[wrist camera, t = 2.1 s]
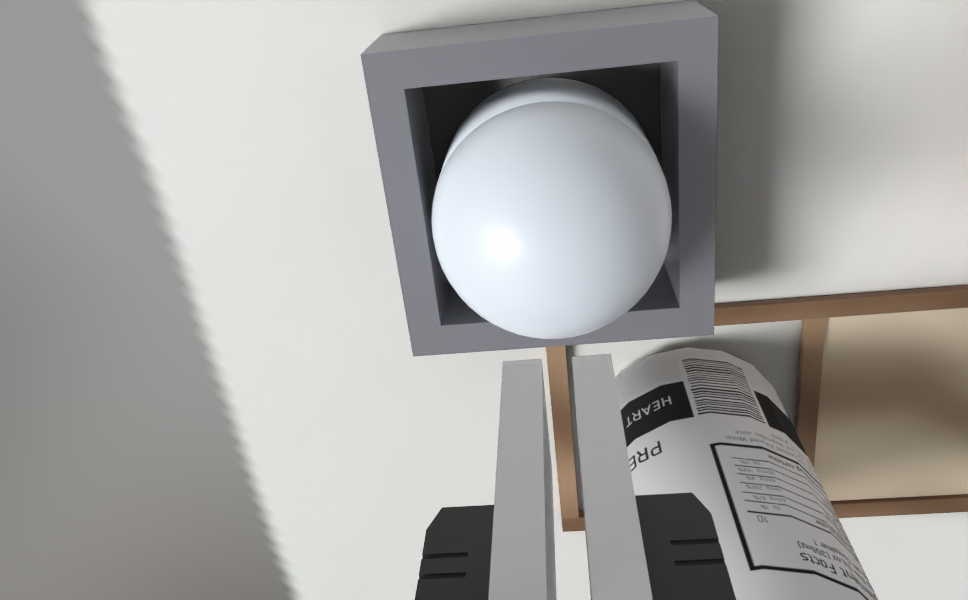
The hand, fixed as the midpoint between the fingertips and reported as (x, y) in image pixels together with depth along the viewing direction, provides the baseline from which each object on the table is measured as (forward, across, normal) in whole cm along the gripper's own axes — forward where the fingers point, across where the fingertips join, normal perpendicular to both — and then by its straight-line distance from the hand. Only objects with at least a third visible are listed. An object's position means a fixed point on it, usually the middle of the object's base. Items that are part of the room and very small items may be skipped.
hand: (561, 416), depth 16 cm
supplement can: (+17, -5, +12) cm, 21 cm away
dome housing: (+16, 0, 0) cm, 16 cm away
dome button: (+15, 0, 0) cm, 15 cm away
